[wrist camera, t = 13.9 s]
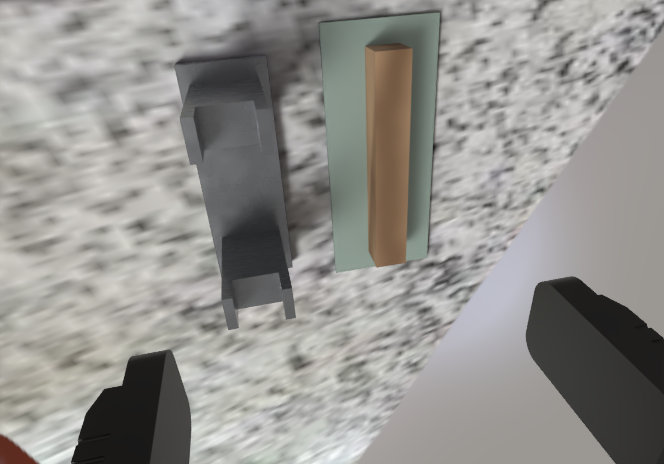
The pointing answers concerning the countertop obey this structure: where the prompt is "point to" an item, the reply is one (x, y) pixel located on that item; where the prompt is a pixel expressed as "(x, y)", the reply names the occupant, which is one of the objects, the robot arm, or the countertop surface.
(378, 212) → the rail
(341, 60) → the mat
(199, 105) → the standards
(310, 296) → the countertop surface
